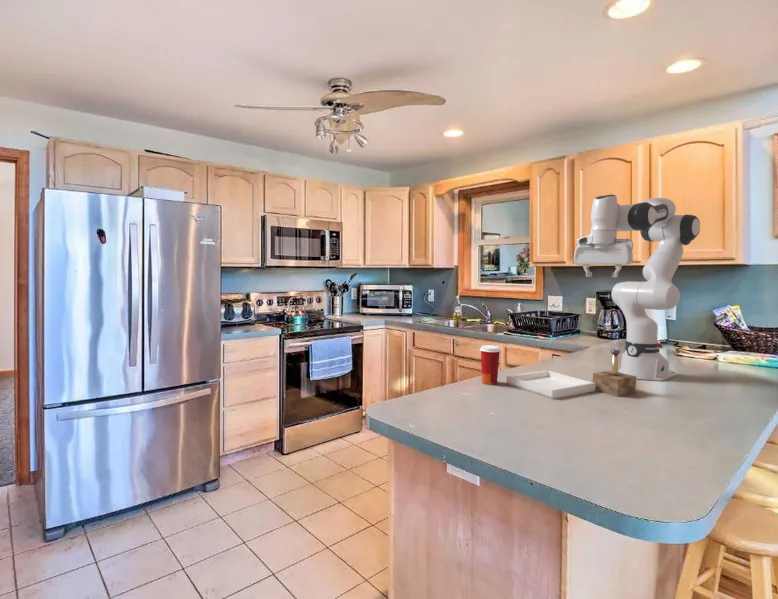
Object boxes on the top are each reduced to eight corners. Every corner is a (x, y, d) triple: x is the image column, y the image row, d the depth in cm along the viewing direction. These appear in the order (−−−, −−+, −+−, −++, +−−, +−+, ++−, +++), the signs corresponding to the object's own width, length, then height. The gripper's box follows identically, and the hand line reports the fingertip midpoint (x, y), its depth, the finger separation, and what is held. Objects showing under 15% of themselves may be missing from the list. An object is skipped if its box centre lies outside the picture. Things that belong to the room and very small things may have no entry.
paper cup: (498, 380, 176) (499, 345, 175) (501, 385, 169) (502, 348, 168) (477, 380, 177) (478, 344, 176) (479, 385, 170) (480, 348, 168)
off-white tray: (547, 377, 182) (547, 370, 182) (595, 391, 163) (595, 382, 163) (506, 383, 172) (506, 376, 172) (552, 399, 153) (552, 390, 152)
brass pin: (612, 389, 165) (614, 349, 164) (620, 391, 163) (622, 350, 161) (607, 390, 164) (609, 349, 163) (614, 392, 161) (616, 351, 160)
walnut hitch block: (609, 386, 170) (610, 370, 170) (635, 392, 161) (636, 376, 161) (592, 389, 165) (593, 373, 165) (617, 396, 156) (618, 379, 156)
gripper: (636, 238, 160) (634, 277, 161) (580, 240, 175) (579, 276, 176) (629, 237, 156) (627, 278, 157) (572, 240, 171) (571, 276, 172)
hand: (601, 277), depth 166 cm, fingers open, 8 cm apart
